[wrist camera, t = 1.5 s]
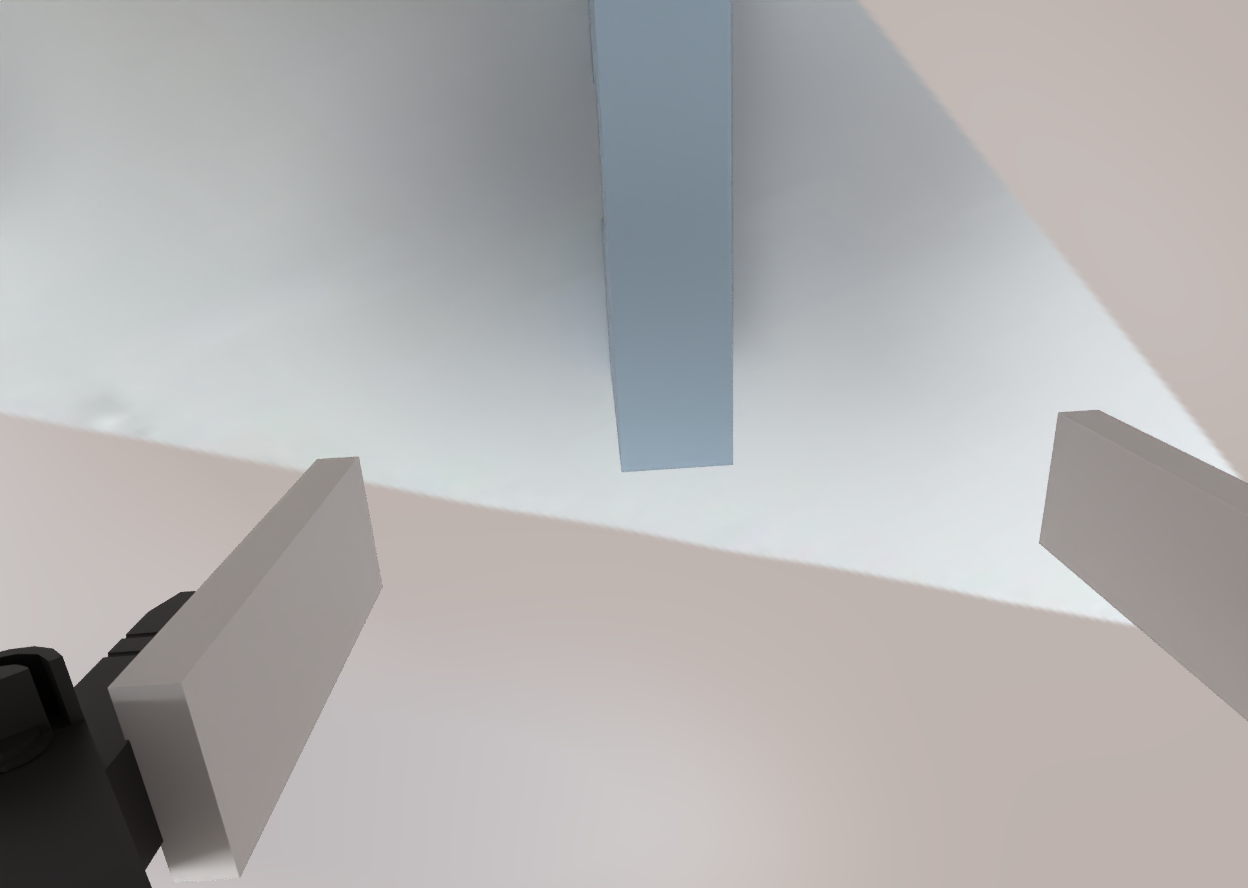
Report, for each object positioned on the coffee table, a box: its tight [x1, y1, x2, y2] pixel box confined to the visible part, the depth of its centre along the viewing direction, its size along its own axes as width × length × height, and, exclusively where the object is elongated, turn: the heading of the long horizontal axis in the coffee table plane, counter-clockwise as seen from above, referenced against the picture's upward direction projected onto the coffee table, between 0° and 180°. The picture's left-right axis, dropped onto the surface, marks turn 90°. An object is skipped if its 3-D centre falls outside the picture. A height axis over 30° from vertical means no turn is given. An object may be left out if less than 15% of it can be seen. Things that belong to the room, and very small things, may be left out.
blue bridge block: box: [589, 0, 733, 472], centre depth 23 cm, size 16×3×10 cm, turn 3°
